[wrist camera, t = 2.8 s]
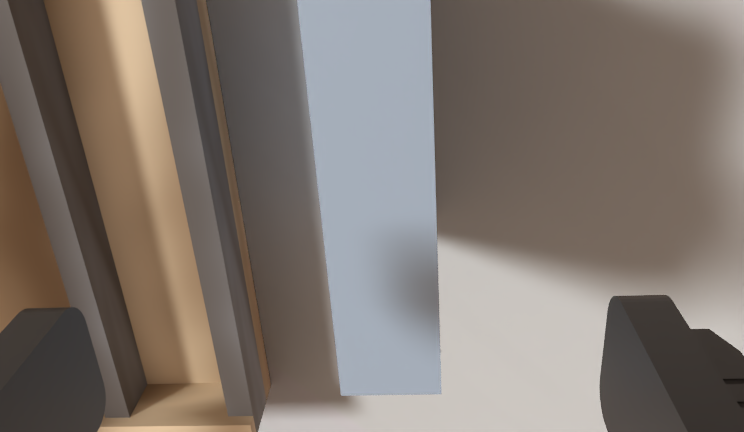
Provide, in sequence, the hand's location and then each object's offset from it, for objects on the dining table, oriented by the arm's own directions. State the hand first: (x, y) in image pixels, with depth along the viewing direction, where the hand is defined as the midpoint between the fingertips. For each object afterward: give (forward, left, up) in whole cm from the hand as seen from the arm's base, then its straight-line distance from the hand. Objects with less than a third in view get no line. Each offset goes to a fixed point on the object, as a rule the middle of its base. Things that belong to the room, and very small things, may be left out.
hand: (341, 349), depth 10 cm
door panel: (0, 0, -15) cm, 15 cm away
